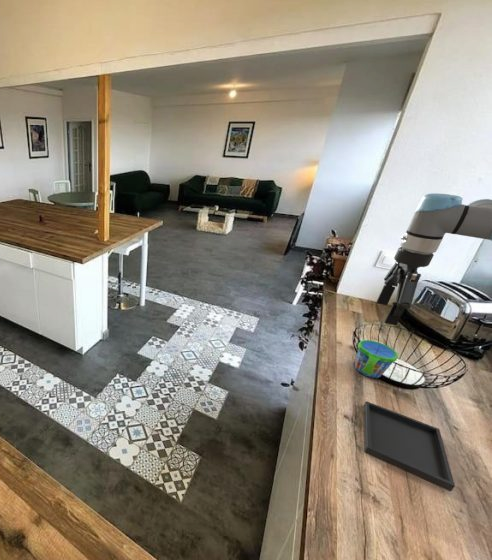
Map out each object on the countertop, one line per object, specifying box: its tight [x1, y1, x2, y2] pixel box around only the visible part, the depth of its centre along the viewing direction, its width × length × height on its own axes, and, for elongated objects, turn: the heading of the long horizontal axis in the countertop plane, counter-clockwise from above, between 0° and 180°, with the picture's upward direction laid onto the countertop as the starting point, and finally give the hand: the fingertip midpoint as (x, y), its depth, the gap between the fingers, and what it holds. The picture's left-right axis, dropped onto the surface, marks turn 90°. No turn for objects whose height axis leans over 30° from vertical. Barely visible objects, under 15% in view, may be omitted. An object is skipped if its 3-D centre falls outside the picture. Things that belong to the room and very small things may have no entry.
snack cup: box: [354, 339, 399, 379], centre depth 109 cm, size 16×10×10 cm
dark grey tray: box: [362, 400, 456, 492], centre depth 85 cm, size 17×20×2 cm
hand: (385, 313), depth 97 cm, fingers open, 13 cm apart
